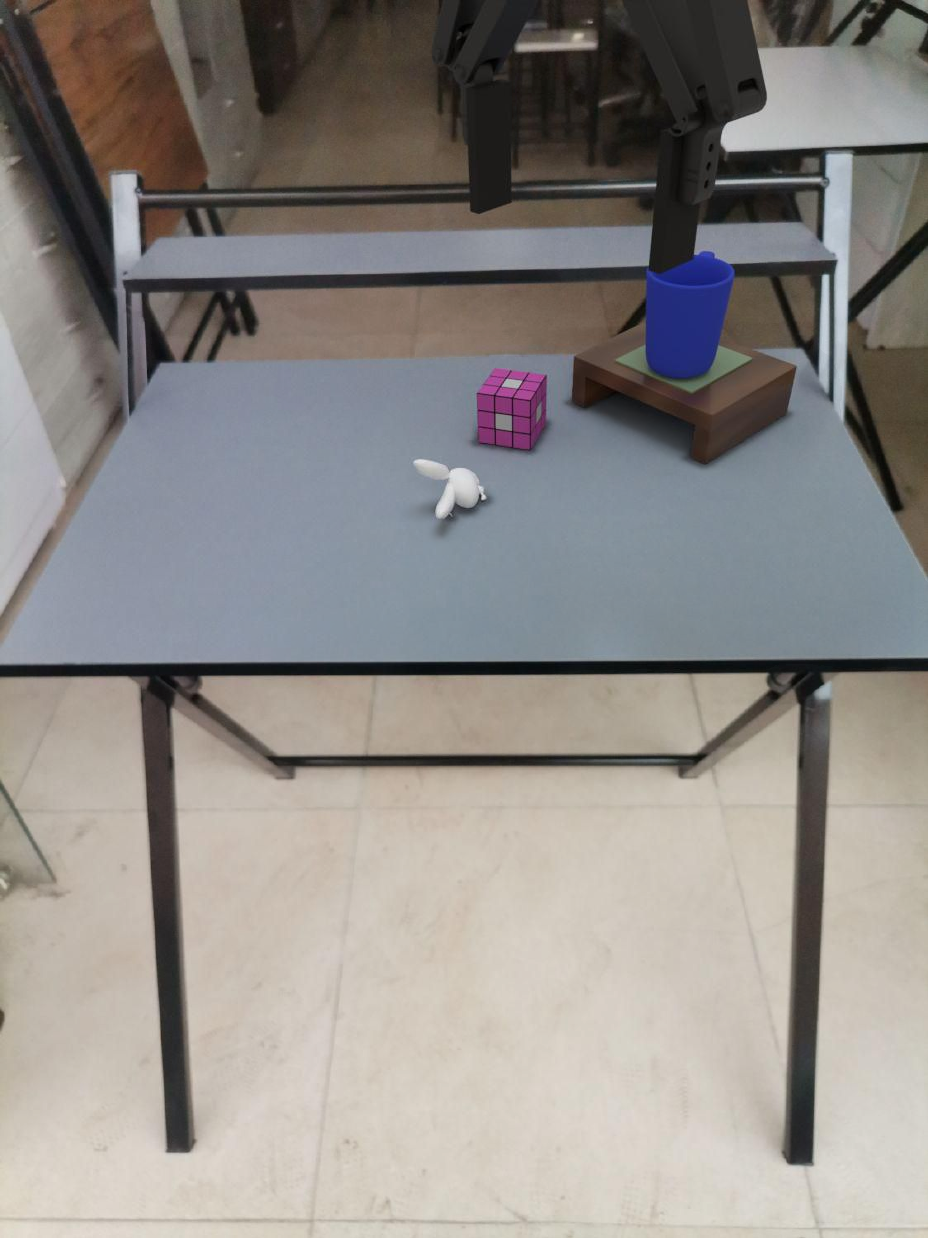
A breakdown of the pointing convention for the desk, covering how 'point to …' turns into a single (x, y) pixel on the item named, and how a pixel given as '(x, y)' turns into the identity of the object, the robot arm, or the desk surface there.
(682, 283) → the mug
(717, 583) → the desk surface
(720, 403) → the shelf
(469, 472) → the rabbit figurine
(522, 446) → the puzzle toy
